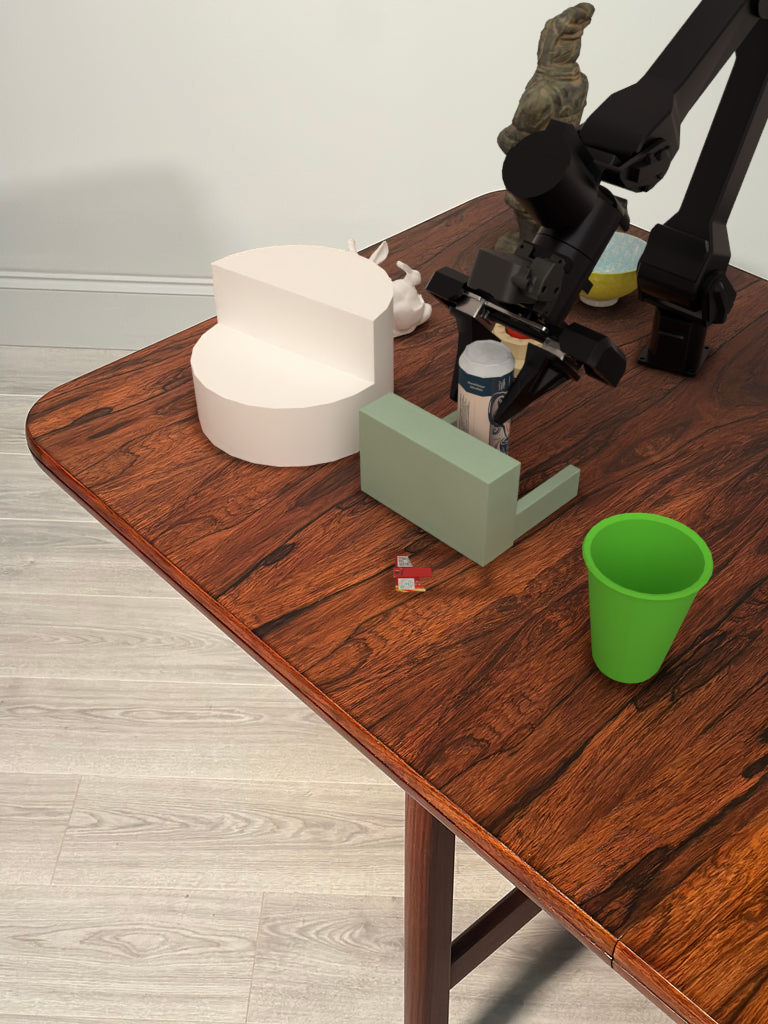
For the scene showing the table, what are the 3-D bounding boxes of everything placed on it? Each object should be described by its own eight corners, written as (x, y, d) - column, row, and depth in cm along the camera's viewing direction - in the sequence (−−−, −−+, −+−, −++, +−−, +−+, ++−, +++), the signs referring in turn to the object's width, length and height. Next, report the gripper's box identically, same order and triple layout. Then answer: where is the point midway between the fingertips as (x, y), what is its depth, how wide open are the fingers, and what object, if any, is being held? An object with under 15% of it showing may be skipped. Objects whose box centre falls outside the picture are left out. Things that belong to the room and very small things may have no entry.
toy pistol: (393, 592, 86) (392, 552, 90) (393, 596, 86) (392, 556, 90) (489, 592, 86) (483, 551, 90) (488, 595, 86) (483, 555, 90)
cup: (692, 632, 82) (719, 526, 75) (678, 718, 76) (706, 610, 69) (578, 606, 85) (595, 501, 78) (555, 687, 78) (571, 580, 71)
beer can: (504, 484, 93) (513, 369, 85) (451, 478, 94) (455, 364, 86) (510, 452, 97) (519, 339, 89) (459, 446, 97) (463, 334, 90)
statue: (528, 227, 140) (550, -17, 121) (586, 248, 135) (618, -3, 116) (475, 254, 134) (489, 1, 115) (533, 277, 129) (558, 17, 110)
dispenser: (458, 430, 104) (462, 352, 98) (580, 496, 96) (591, 415, 90) (360, 490, 97) (358, 409, 91) (482, 567, 88) (488, 483, 83)
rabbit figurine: (334, 347, 116) (330, 268, 110) (321, 315, 122) (317, 237, 116) (437, 334, 118) (440, 255, 112) (420, 303, 124) (422, 226, 118)
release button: (515, 321, 115) (516, 307, 114) (545, 329, 114) (546, 314, 113) (501, 335, 113) (502, 321, 112) (532, 343, 112) (533, 329, 110)
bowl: (530, 294, 126) (534, 246, 122) (598, 267, 131) (604, 221, 127) (598, 332, 119) (605, 282, 115) (667, 302, 124) (675, 254, 120)
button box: (499, 322, 120) (500, 299, 119) (580, 343, 117) (583, 320, 115) (461, 363, 114) (462, 338, 112) (546, 386, 110) (549, 362, 108)
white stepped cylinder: (157, 421, 105) (136, 303, 97) (284, 339, 118) (276, 228, 109) (311, 492, 96) (303, 369, 88) (431, 395, 109) (434, 278, 100)
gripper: (440, 176, 88) (349, 340, 89) (625, 245, 77) (519, 429, 79) (497, 234, 97) (414, 382, 98) (668, 302, 86) (573, 466, 88)
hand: (474, 411), depth 90 cm, fingers closed on beer can, 5 cm apart
